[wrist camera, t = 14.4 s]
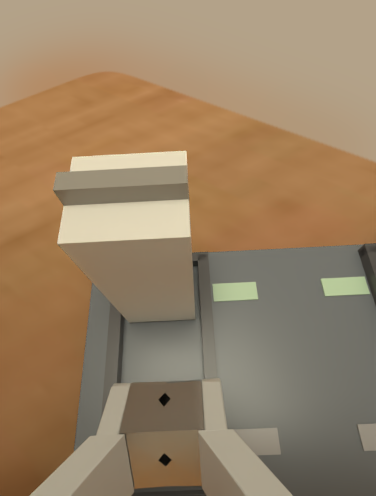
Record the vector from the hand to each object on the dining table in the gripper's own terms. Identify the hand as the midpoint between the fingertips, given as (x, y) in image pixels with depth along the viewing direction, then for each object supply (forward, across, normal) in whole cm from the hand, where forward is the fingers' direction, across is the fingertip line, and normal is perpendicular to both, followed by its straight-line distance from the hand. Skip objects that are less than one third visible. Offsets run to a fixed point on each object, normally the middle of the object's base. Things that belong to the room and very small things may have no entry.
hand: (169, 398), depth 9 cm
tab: (+8, -1, -1) cm, 8 cm away
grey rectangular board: (+7, +6, -5) cm, 10 cm away
